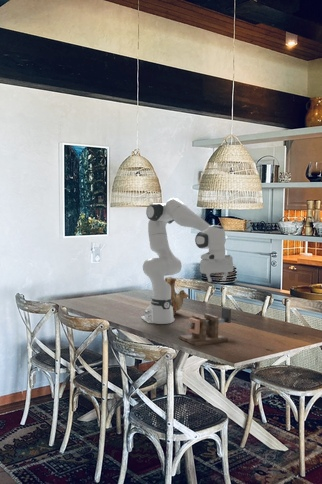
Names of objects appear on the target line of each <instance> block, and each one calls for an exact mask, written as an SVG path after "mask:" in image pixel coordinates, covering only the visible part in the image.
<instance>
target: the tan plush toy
mask: <svg viewBox="0 0 322 484" xmlns="http://www.w3.org/2000/svg"><path fill="white" fill-rule="evenodd" d="M164 280H165V282H167V283H169V284H170V286H171V299H172V304H171V306H172V307H173V316H176V315H177V311H179V310H181V308H182V307H183V304H184V299H187V298H189V297H190V294H188V293H186V292H185V290H184V289H181V290H179V292H178V293H177V292H176V289H175V285H176V280H177V278H175V277H171V276H167V277H164Z"/></svg>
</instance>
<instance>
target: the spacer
mask: <svg viewBox="0 0 322 484" xmlns="http://www.w3.org/2000/svg"><path fill="white" fill-rule="evenodd" d="M189 322H193V323H195V328H194V327H189V326H188V331H189V332H190V333H191V334H192V333H195V334H200V320H198V319H195V318H192V317H188V323H189Z"/></svg>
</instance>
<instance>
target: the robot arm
mask: <svg viewBox="0 0 322 484" xmlns="http://www.w3.org/2000/svg"><path fill="white" fill-rule="evenodd" d="M145 210H146V211H145V214H146V217H147V219H148V223H147V224H148V225H147V228H148V229H147V230H148V232H147V233H148V239H149V246H150V250H151V251H152V252H154V253H156V255H157V256H158V257H152V258H149V259H146V260H145V261H143V264H142V271H143V273H144V275H146V277H148V278H149V279H150V280H149V281H150V282H151V285H152V298H150V301H151V302H150V304H149V305H148V306H147V307H146V308H145V311H144V315H142V316H140V318H141V320H143V321H145V322H146V323H148V324H159V325H165V324H166V325H167V324H171V323H173V322H174V321H175V320H176V318H175V317H174V315H173V307H172V306H171V304H172V299H171V286H170V284H169V283H167V282H165V276H173V275H177V274H179V273H180V272H181V271H182V268H183V267H182V261H181V260H180V259H179V258H178V257H177V256H176V255H175V254H174V253H173V252H172V249H171V247H170V244H169V241H168V239H169V238H168V233H167V229H166V227H167V224H169V225H171V224H172V223H173V222H175V223H176V224H177V225H179V226H180V227H185V228H192V229H197V230H199V231H198V232H197V234H195V239H194V240H195V245H196V247H197V248H199V249H201V250H204V249H205V250H206V249H208V251H207V252H205V253H203V254H200V259H201V260H200V263H199V272H200V273H201V274H204V275H205V276H206V278H207V283H211V282H213V278H211V274H217V273H218V274H221V273H222V274H223V277H221V282H225V281H227V276H228V275H229V273H232V272H233V271H234V262H233V261H234V260H233V258H234V257H233V256H232V255H230V254H226V248H225V244H226V240H227V239H226V231H225V228H224V226H222V225H217V224H210V223H209V222H207V221H206V220H205V219H204V218H202V217H201V216H199V214H197V213H196V212H194V211H193V210H192V209H190V208H189V207H188V206H187V205H186V204H185V203H184V202H183V201H181V200H180V199H178V198H175V197H172V198H169V199H168V200H167V201H166V202H155V203H150V204H149V205H148V206H147V207H146V209H145Z"/></svg>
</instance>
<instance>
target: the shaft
mask: <svg viewBox="0 0 322 484" xmlns="http://www.w3.org/2000/svg"><path fill="white" fill-rule="evenodd" d="M231 320H232V309H231V308H228V307H225V306H222V307H221V317H220V318H219V324H223V323H227V324H231V322H232V321H231ZM206 325H211V320H206ZM187 326H188V328H189V327H195V323H193V322H189V321H188V325H187Z"/></svg>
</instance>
